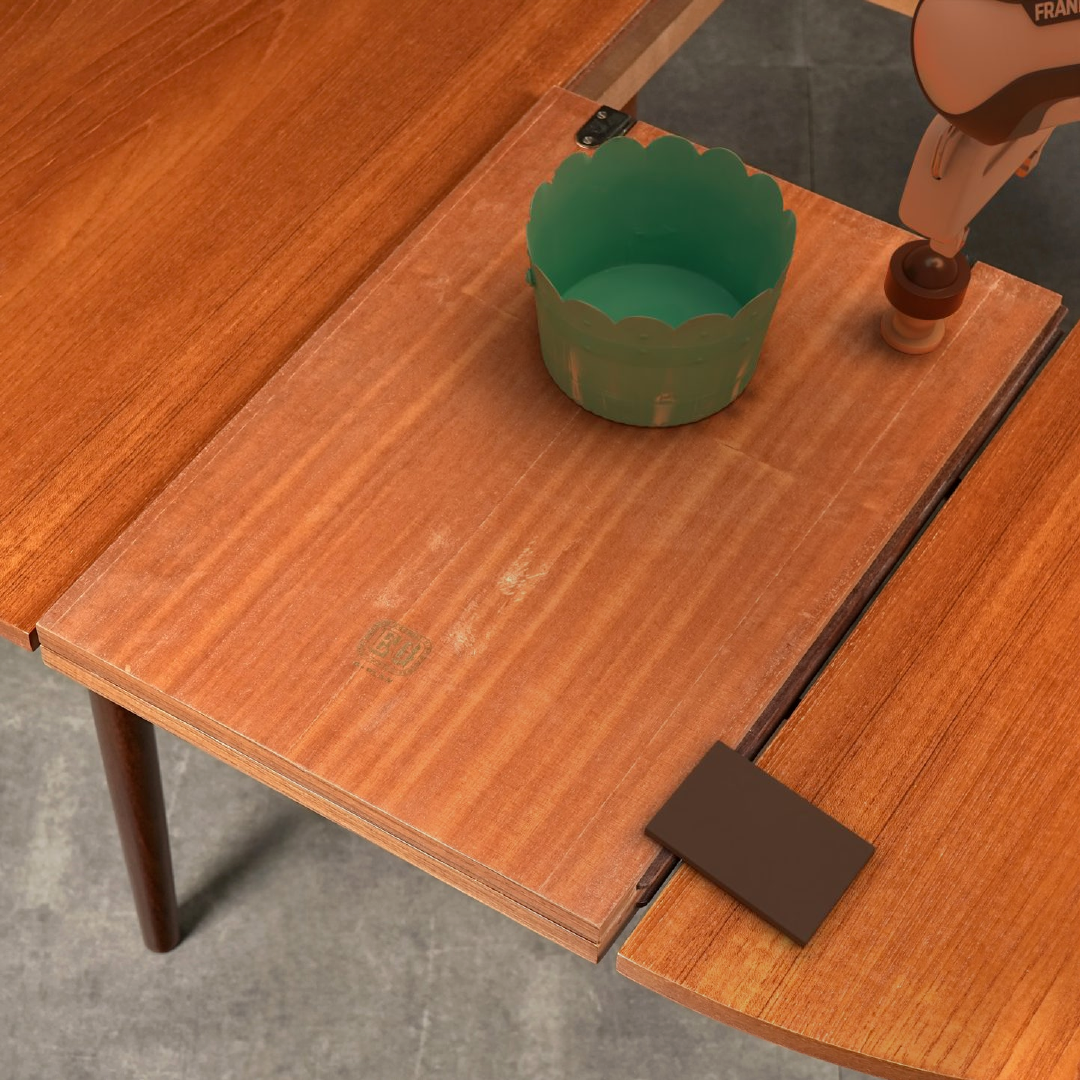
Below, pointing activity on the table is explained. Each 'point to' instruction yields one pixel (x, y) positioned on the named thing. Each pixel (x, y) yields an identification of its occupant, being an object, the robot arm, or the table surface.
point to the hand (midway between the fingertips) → (983, 207)
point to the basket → (656, 277)
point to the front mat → (760, 842)
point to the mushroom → (922, 296)
